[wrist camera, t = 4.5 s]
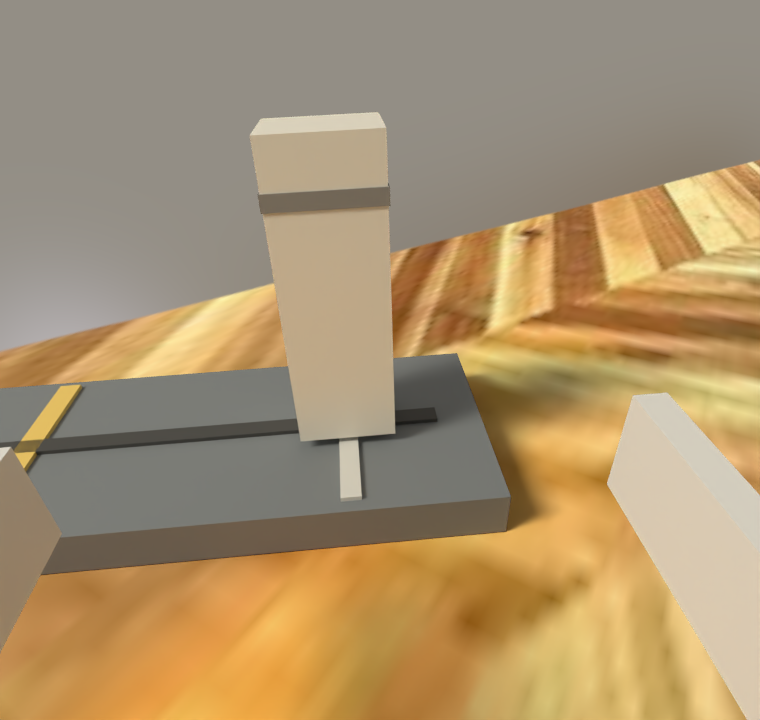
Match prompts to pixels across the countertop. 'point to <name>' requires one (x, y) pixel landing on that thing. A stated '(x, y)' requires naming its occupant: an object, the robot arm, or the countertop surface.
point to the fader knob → (331, 267)
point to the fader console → (248, 466)
